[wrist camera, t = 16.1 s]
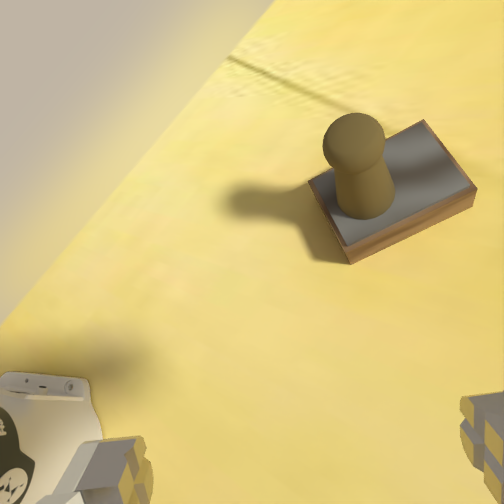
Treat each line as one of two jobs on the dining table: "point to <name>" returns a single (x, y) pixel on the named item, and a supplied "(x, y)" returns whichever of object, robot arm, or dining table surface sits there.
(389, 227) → the walnut riser
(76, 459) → the robot arm
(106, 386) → the dining table surface
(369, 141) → the brown chess pawn
